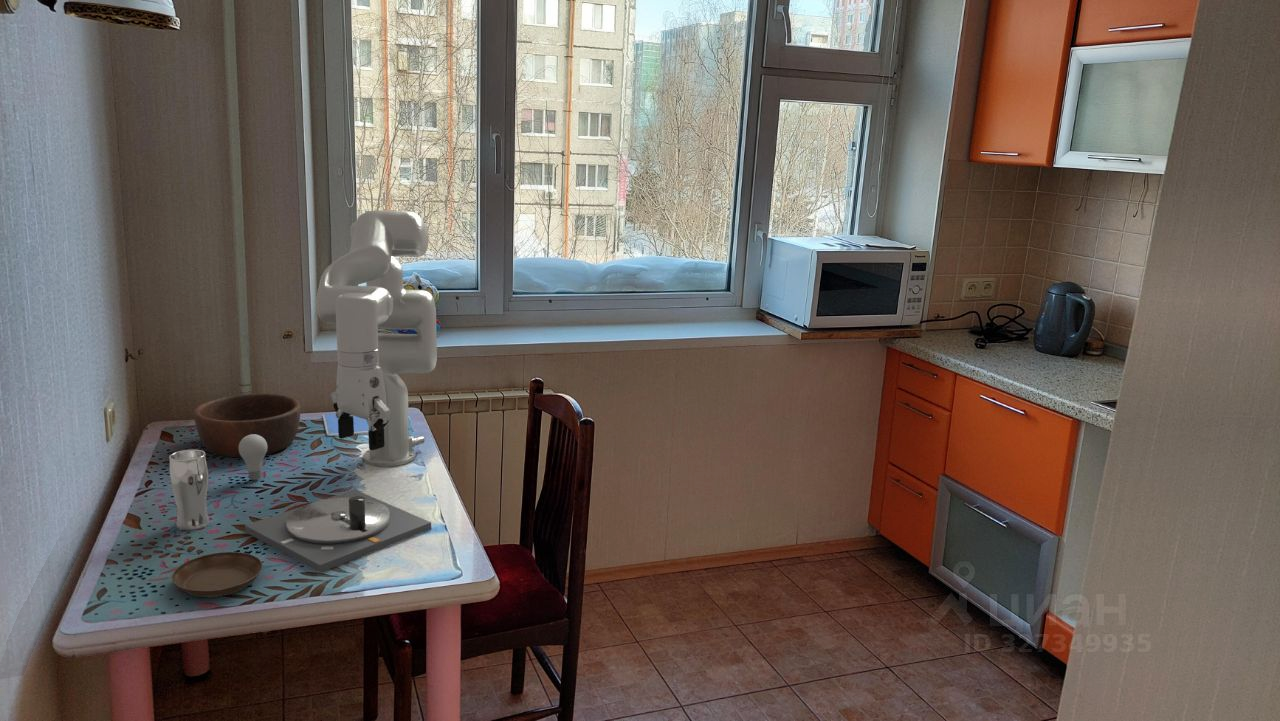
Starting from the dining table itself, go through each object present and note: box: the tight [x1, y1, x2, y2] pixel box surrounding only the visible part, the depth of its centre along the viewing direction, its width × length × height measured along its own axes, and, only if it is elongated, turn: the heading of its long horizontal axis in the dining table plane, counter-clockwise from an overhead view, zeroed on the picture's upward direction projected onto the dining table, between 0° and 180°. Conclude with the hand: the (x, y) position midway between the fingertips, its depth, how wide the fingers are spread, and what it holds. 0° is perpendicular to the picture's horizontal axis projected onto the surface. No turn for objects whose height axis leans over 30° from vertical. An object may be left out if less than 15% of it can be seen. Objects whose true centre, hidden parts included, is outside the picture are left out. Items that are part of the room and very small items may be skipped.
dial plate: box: [244, 489, 432, 573], centre depth 187 cm, size 26×26×2 cm
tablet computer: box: [322, 412, 369, 437], centre depth 252 cm, size 19×13×1 cm, turn 22°
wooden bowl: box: [193, 393, 302, 458], centre depth 232 cm, size 25×25×10 cm
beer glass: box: [168, 449, 210, 531], centre depth 185 cm, size 7×7×15 cm
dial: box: [286, 496, 390, 544], centre depth 185 cm, size 20×20×7 cm
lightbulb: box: [238, 434, 268, 482], centre depth 210 cm, size 6×6×11 cm
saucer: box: [171, 551, 264, 598], centre depth 164 cm, size 15×15×3 cm
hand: (361, 442), depth 179 cm, fingers open, 9 cm apart
